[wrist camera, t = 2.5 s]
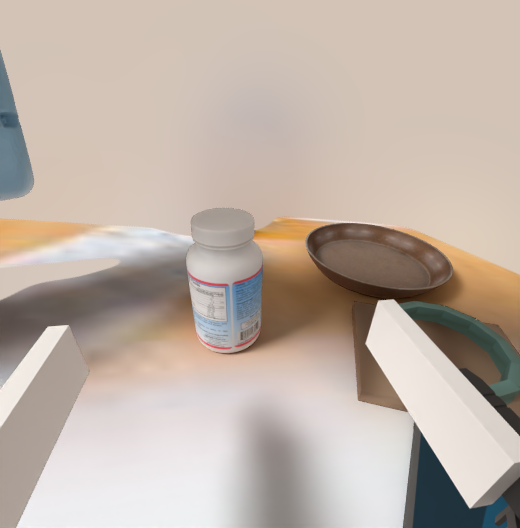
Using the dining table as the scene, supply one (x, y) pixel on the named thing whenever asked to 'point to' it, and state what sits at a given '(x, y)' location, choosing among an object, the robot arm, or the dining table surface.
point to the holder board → (450, 343)
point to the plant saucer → (377, 260)
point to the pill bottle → (225, 279)
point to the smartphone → (440, 495)
